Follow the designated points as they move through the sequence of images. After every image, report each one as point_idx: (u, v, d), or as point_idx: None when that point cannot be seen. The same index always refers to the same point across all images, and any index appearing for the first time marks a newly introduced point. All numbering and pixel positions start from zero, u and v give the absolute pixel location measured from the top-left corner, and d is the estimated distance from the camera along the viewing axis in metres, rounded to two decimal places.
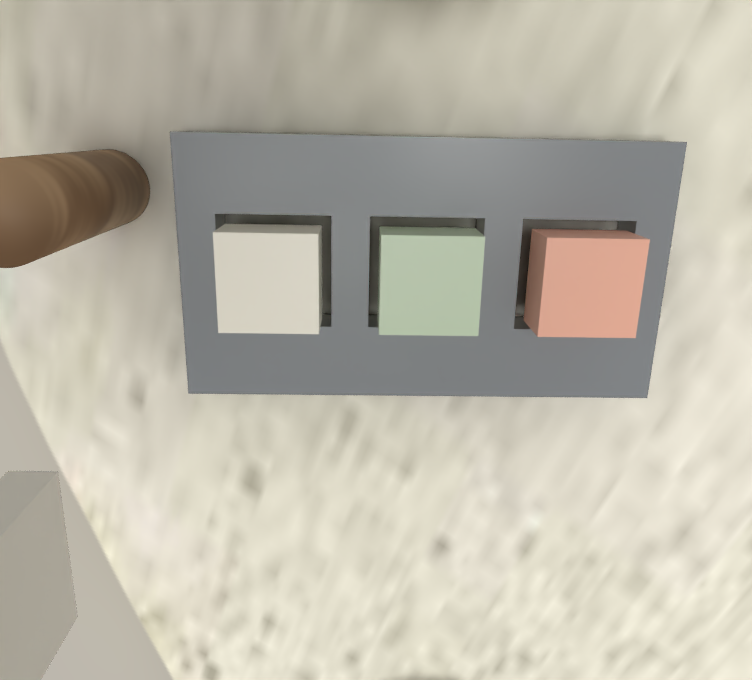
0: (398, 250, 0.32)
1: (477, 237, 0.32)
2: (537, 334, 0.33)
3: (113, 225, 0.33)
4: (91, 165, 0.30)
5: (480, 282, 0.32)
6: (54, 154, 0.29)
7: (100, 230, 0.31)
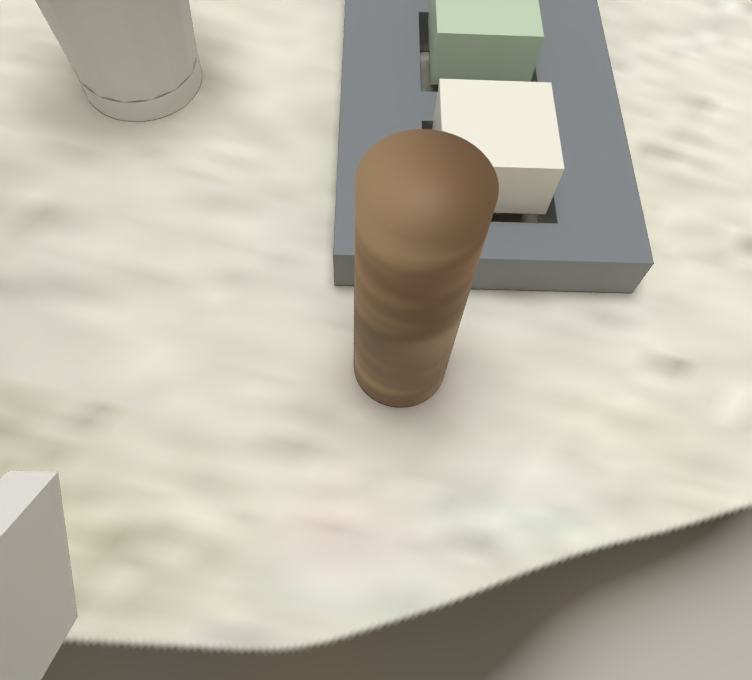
0: (452, 21, 0.31)
1: None
2: None
3: None
4: None
5: None
6: None
7: None
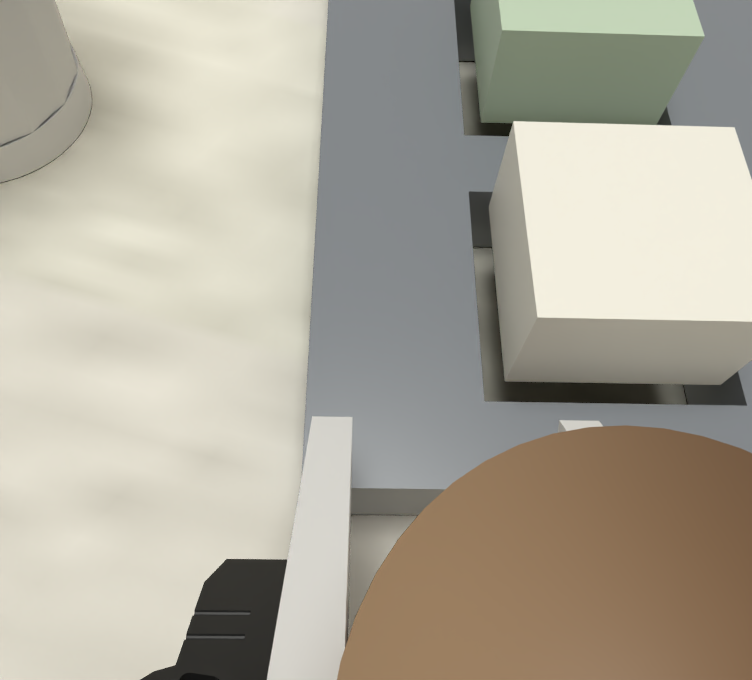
0: (528, 7, 0.17)
1: None
2: None
3: None
4: None
5: None
6: None
7: None
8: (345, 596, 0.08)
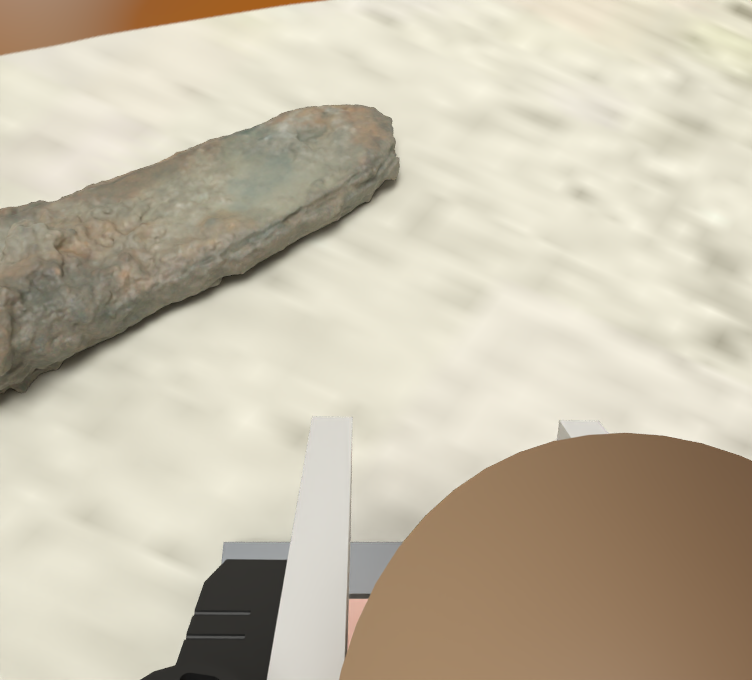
0: None
1: None
2: None
3: None
4: None
5: None
6: None
7: None
8: (345, 596, 0.08)
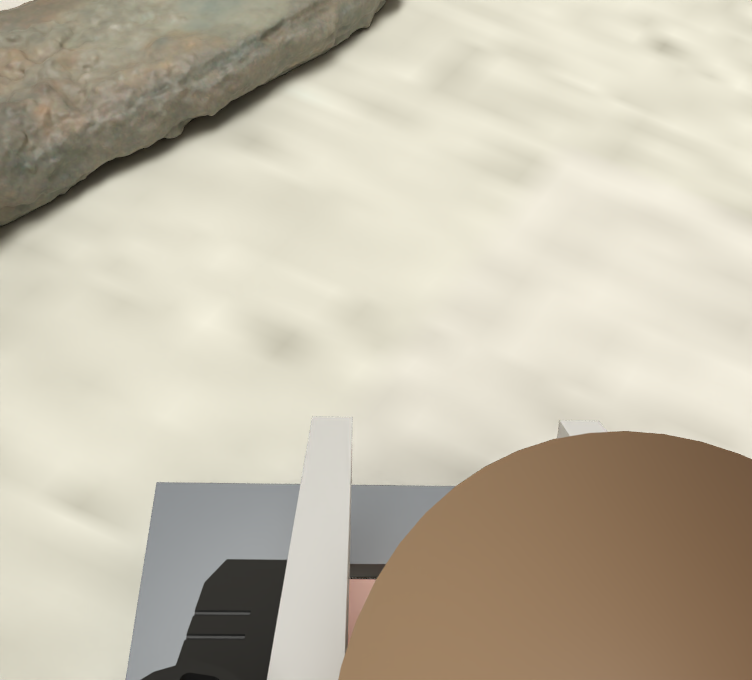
0: None
1: None
2: None
3: None
4: None
5: None
6: None
7: None
8: (345, 596, 0.08)
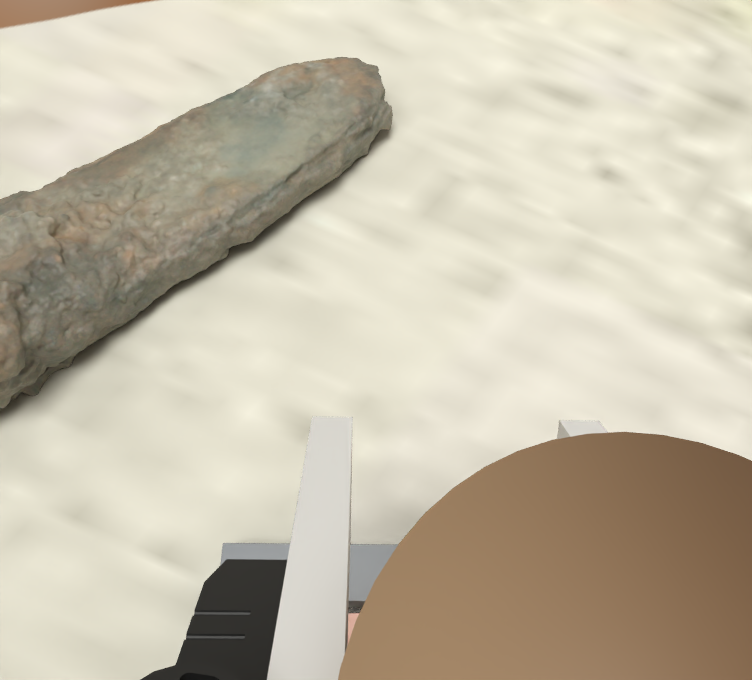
0: None
1: None
2: None
3: None
4: None
5: None
6: None
7: None
8: (345, 596, 0.08)
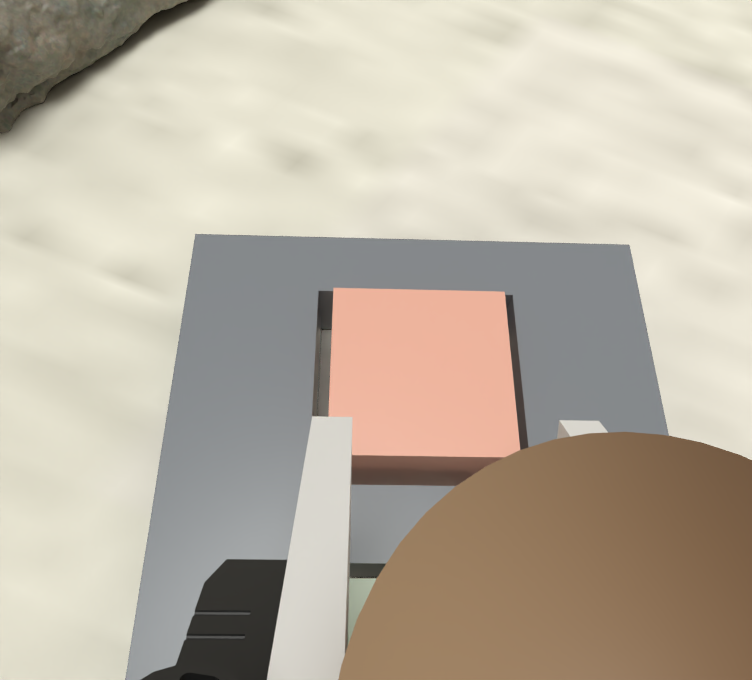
0: None
1: None
2: None
3: None
4: None
5: None
6: None
7: None
8: (345, 596, 0.08)
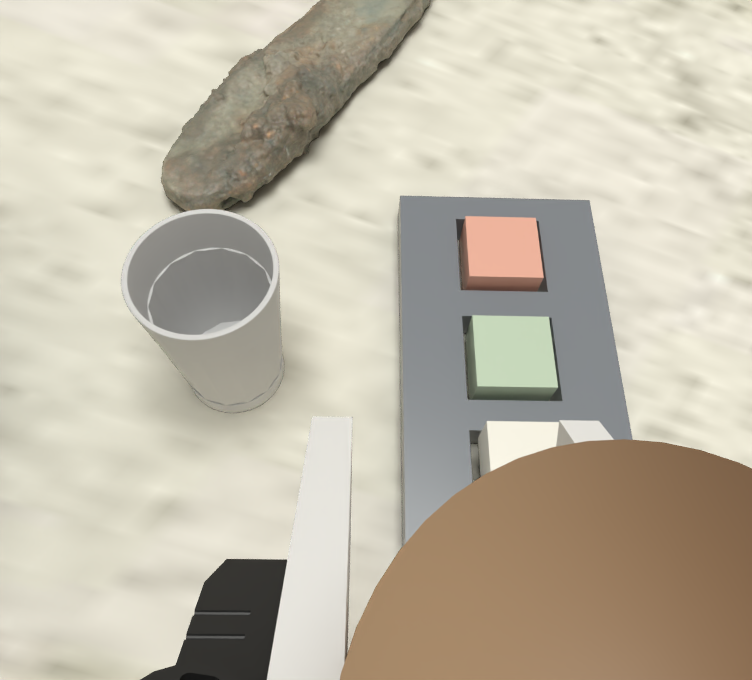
0: (488, 373, 0.41)
1: (473, 320, 0.43)
2: (541, 278, 0.45)
3: None
4: None
5: (506, 316, 0.43)
6: None
7: None
8: (345, 596, 0.08)
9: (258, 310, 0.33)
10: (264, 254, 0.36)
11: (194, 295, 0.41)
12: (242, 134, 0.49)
